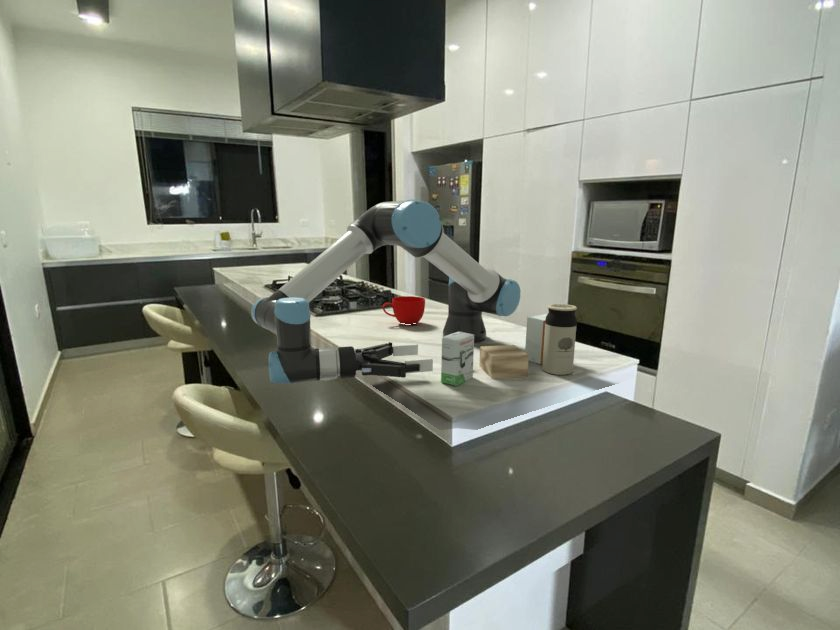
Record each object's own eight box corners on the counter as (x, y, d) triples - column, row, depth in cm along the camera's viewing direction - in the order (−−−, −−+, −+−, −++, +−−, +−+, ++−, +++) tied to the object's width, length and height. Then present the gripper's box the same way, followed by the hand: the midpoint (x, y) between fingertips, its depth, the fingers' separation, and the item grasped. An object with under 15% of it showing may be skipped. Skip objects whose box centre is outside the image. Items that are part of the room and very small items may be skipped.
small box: (540, 365, 127) (543, 320, 125) (524, 359, 132) (526, 316, 130) (559, 360, 132) (562, 317, 129) (542, 355, 137) (545, 313, 134)
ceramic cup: (379, 322, 180) (379, 297, 178) (419, 319, 185) (419, 295, 183) (386, 329, 168) (386, 303, 166) (429, 326, 173) (429, 301, 171)
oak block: (479, 367, 126) (480, 346, 125) (512, 365, 128) (513, 344, 126) (491, 379, 116) (492, 356, 115) (527, 376, 118) (528, 355, 117)
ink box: (456, 386, 110) (457, 340, 108) (439, 382, 113) (440, 337, 110) (473, 377, 117) (475, 333, 114) (457, 373, 120) (458, 330, 117)
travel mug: (540, 365, 127) (544, 303, 123) (569, 366, 126) (574, 303, 122) (544, 375, 119) (549, 308, 115) (575, 376, 118) (581, 309, 114)
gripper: (334, 362, 118) (412, 356, 124) (343, 397, 95) (439, 388, 100) (333, 334, 117) (412, 330, 122) (342, 363, 93) (439, 356, 99)
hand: (424, 356), depth 111 cm, fingers open, 13 cm apart
